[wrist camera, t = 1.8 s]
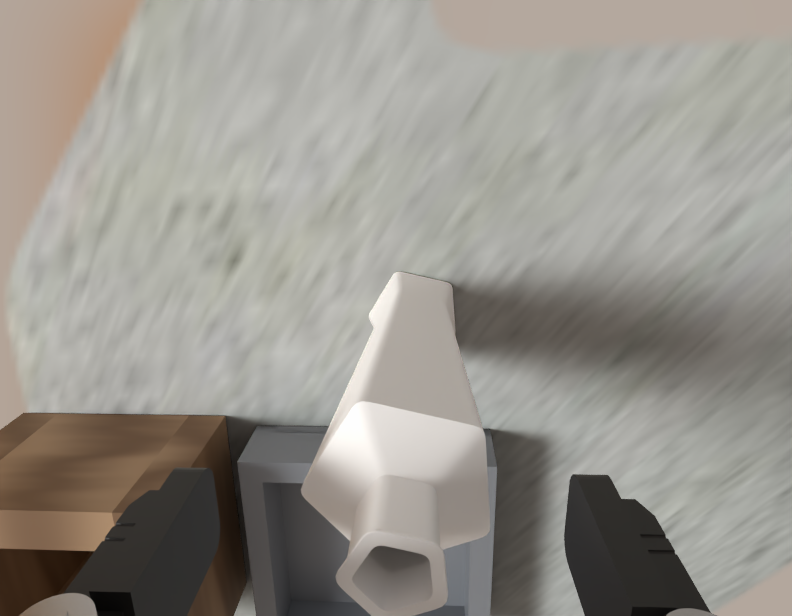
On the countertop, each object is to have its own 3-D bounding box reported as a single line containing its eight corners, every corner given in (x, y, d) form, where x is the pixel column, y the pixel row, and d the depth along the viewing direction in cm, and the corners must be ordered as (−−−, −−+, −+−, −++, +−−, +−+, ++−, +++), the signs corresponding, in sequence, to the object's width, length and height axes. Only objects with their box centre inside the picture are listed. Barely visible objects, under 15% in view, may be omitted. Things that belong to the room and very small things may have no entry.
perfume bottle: (353, 350, 26) (257, 645, 11) (372, 258, 24) (291, 463, 10) (452, 373, 26) (480, 693, 11) (478, 282, 24) (545, 519, 10)
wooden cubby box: (225, 415, 27) (158, 513, 20) (246, 582, 30) (195, 713, 24) (23, 413, 28) (-105, 507, 21) (65, 576, 31) (-35, 703, 24)
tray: (489, 429, 26) (497, 466, 24) (482, 612, 30) (487, 664, 27) (257, 425, 27) (237, 462, 24) (276, 605, 31) (261, 655, 28)
